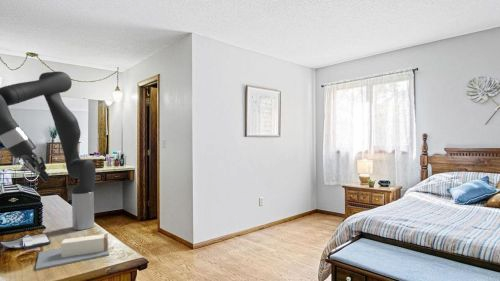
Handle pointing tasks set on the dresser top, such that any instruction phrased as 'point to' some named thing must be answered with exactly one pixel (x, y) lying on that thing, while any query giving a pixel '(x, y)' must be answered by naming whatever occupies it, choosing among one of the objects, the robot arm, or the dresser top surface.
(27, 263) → the dresser top surface
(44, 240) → the dark grey smartphone
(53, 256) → the rubber mat
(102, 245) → the cream block
